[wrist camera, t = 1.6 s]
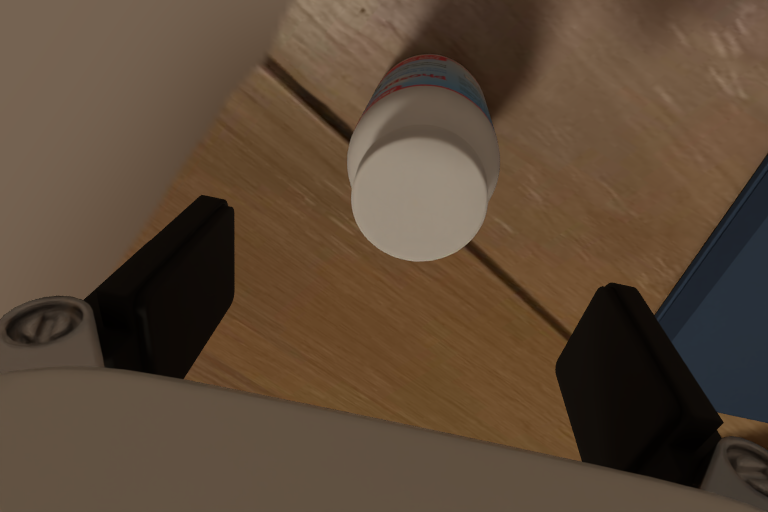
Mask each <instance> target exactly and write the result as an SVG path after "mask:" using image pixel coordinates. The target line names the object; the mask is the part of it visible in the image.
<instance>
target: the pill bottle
mask: <svg viewBox="0 0 768 512" xmlns="http://www.w3.org/2000/svg"><path fill="white" fill-rule="evenodd" d="M347 168H348V176H349V180H350V184H351V187H352V193H351V203H352V210H353V214H354V218H355V220H356V223H357V225H358V226H359V228H360V230H361V232H362V233H363V234H364V235H365V237H366V238H367V239H368V240H369V241H370V242H371V243H372V244H373V245H375V246H376V247H377V248H378V249H380V250H382V251H383V252H385V253H387V254H389V255H391V256H394V257H397V258H400V259H404V260H409V261H431V260H436V259H440V258H443V257H446V256H449V255H451V254H453V253H455V252H457V251H458V250H460V249H461V248H462V247H464V246H465V245H466V244H467V243H468V242H469V241H470V240H471V239H472V238H473V237H474V236H475V235H476V234H477V232H478V231H479V229H480V227H481V225H482V223H483V221H484V218H485V216H486V212H487V206H488V201H489V200H490V198H491V196H492V194H493V192H494V190H495V187H496V184H497V181H498V176H499V170H500V153H499V147H498V141H497V137H496V134H495V131H494V128H493V124H492V121H491V118H490V115H489V111H488V108H487V104H486V101H485V98H484V95H483V92H482V90H481V88H480V86H479V84H478V82H477V81H476V79H475V78H474V77H473V76H472V74H471V73H470V72H469V71H468V70H467V69H466V68H464V67H463V66H462V65H461V64H459V63H458V62H456V61H454V60H452V59H450V58H448V57H445V56H442V55H437V54H422V55H417V56H413V57H410V58H408V59H405V60H403V61H402V62H400V63H398V64H397V65H395V66H394V67H393V68H392V69H391V70H390V71H389V72H388V73H387V74H386V75H385V76H384V77H383V79H382V80H381V82H380V83H379V85H378V86H377V88H376V90H375V92H374V94H373V96H372V98H371V100H370V101H369V103H368V105H367V107H366V108H365V110H364V112H363V114H362V116H361V118H360V120H359V122H358V123H357V125H356V127H355V130H354V132H353V135H352V137H351V140H350V144H349V149H348V157H347Z"/></svg>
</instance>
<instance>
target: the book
mask: <svg viewBox="0 0 768 512" xmlns="http://www.w3.org/2000/svg"><path fill="white" fill-rule="evenodd" d="M655 318H656V319H657V321H658V322H659V324H660V325H661V327H662V328H663V330H664V331H665V333H666V335H667V336H668V338H669V339H670V341H671V342H672V344H673V345H674V347H675V348H676V350H677V351H678V353H679V355H680V356H681V358H682V359H683V361H684V362H685V364H686V365H687V367H688V368H689V370H690V372H691V373H692V375H693V376H694V378H695V379H696V381H697V382H698V384H699V385H700V387H701V388H702V390H703V392H704V393H705V395H706V396H707V398H708V399H709V401H710V402H711V404H712V405H713V407H714V409H715V410H716V412H719V413H723V414H728V415H733V416H737V417H742V418H747V419H751V420H756V421H761V422H765V423H768V155H767V156H766V158H765V159H764V161H763V162H762V164H761V165H760V166H759V168H758V169H757V171H756V172H755V173H754V175H753V176H752V178H751V179H750V181H749V182H748V183H747V185H746V186H745V188H744V189H743V191H742V192H741V193H740V195H739V196H738V198H737V199H736V201H735V202H734V203H733V205H732V206H731V208H730V209H729V210H728V212H727V213H726V215H725V216H724V218H723V219H722V220H721V222H720V223H719V225H718V226H717V228H716V229H715V230H714V232H713V233H712V235H711V236H710V238H709V239H708V240H707V242H706V243H705V245H704V246H703V248H702V249H701V250H700V252H699V253H698V255H697V256H696V257H695V259H694V260H693V262H692V263H691V265H690V266H689V267H688V269H687V270H686V272H685V273H684V275H683V276H682V277H681V279H680V280H679V282H678V283H677V285H676V286H675V287H674V289H673V290H672V292H671V293H670V294H669V296H668V297H667V299H666V300H665V302H664V303H663V304H662V306H661V307H660V309H659V310H658V312H657V313H656V314H655Z"/></svg>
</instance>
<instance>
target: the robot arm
mask: <svg viewBox="0 0 768 512" xmlns="http://www.w3.org/2000/svg"><path fill="white" fill-rule="evenodd" d="M233 298H234V209H233V207H229V206H228V204H227V201H226V200H224V199H219V198H215V197H210V196H205V195H201V196H199V197H198V198H197V199H196V200H195V201H194V202H193V203H192V204H191V205H189V206H188V207H187V208H186V209H185V210H184V211H183V212H182V213H181V214H179V215H178V216H177V217H176V218H175V219H174V220H173V221H172V222H171V223H169V224H168V225H167V226H166V227H165V228H164V229H163V230H162V231H161V232H159V233H158V234H157V235H156V236H155V237H154V238H153V239H152V240H150V241H149V242H148V243H146V244H145V245H144V246H143V247H142V248H141V249H140V250H139V251H137V252H136V253H135V254H134V255H133V256H132V257H131V258H130V259H129V260H127V261H126V262H125V263H124V264H123V265H122V266H121V267H120V268H119V269H117V270H116V271H115V272H114V273H113V274H112V275H111V276H110V277H109V278H107V279H106V280H105V281H104V282H103V283H102V284H101V285H100V286H99V287H97V288H96V289H95V290H94V291H93V292H92V293H91V294H90V295H89V296H87V297H86V298H85V299H84V300H82V299H78V298H75V297H70V296H52V297H43V298H39V299H35V300H32V301H28V302H26V303H24V304H22V305H19V306H17V307H15V308H13V309H12V310H11V311H9V312H8V313H6V314H5V315H4V316H3V317H2V318H1V319H0V512H768V450H766V449H765V448H763V447H761V446H759V445H757V444H755V443H754V442H751V441H749V440H746V439H743V438H740V437H733V436H729V437H724V438H721V436H720V434H719V433H718V431H717V429H718V428H719V427H720V426H721V425H722V424H723V423H724V422H723V421H722V419H721V418H720V416H719V415H718V413H717V412H716V410H715V409H714V407H713V405H712V404H711V402H710V401H709V399H708V398H707V396H706V395H705V393H704V392H703V390H702V388H701V387H700V385H699V384H698V382H697V381H696V379H695V378H694V376H693V375H692V373H691V372H690V370H689V368H688V367H687V365H686V364H685V362H684V361H683V359H682V358H681V356H680V355H679V353H678V351H677V350H676V348H675V347H674V345H673V344H672V342H671V341H670V339H669V338H668V336H667V335H666V333H665V331H664V330H663V328H662V327H661V325H660V324H659V322H658V321H657V319H656V318H655V316H654V314H653V313H652V311H651V310H650V308H649V307H648V305H647V304H646V302H645V301H644V299H643V298H642V296H641V294H640V293H639V291H638V290H637V289H636V288H634V287H631V286H626V285H621V284H617V283H609V284H607V285H606V286H605V287H603V286H602V287H600V288H598V290H597V291H596V293H595V295H594V296H593V298H592V300H591V302H590V304H589V305H588V307H587V309H586V311H585V312H584V314H583V316H582V318H581V319H580V321H579V323H578V325H577V326H576V328H575V330H574V332H573V334H572V335H571V337H570V339H569V341H568V342H567V344H566V346H565V348H564V349H563V351H562V353H561V355H560V356H559V358H558V360H557V363H556V369H555V370H556V376H557V380H558V383H559V386H560V390H561V393H562V396H563V400H564V403H565V406H566V410H567V413H568V416H569V420H570V423H571V426H572V430H573V433H574V436H575V439H576V443H577V446H578V449H579V453H580V456H581V459H582V462H580V461H576V460H571V459H567V458H562V457H557V456H553V455H548V454H543V453H539V452H534V451H529V450H525V449H520V448H515V447H511V446H506V445H501V444H497V443H492V442H488V441H483V440H478V439H473V438H468V437H464V436H459V435H454V434H449V433H445V432H440V431H435V430H430V429H426V428H421V427H416V426H411V425H407V424H402V423H397V422H392V421H387V420H383V419H378V418H373V417H368V416H363V415H359V414H354V413H349V412H344V411H339V410H334V409H329V408H324V407H319V406H315V405H310V404H305V403H300V402H295V401H290V400H285V399H280V398H275V397H270V396H265V395H261V394H256V393H251V392H246V391H241V390H236V389H231V388H226V387H221V386H215V385H210V384H205V383H200V382H195V381H190V380H184V377H185V376H186V374H187V373H188V371H189V370H190V368H191V367H192V365H193V363H194V362H195V360H196V359H197V357H198V356H199V354H200V352H201V351H202V349H203V348H204V346H205V345H206V343H207V342H208V340H209V338H210V337H211V335H212V334H213V332H214V331H215V329H216V327H217V326H218V324H219V323H220V321H221V320H222V318H223V317H224V315H225V313H226V312H227V310H228V309H229V307H230V305H231V304H232V301H233Z"/></svg>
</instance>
